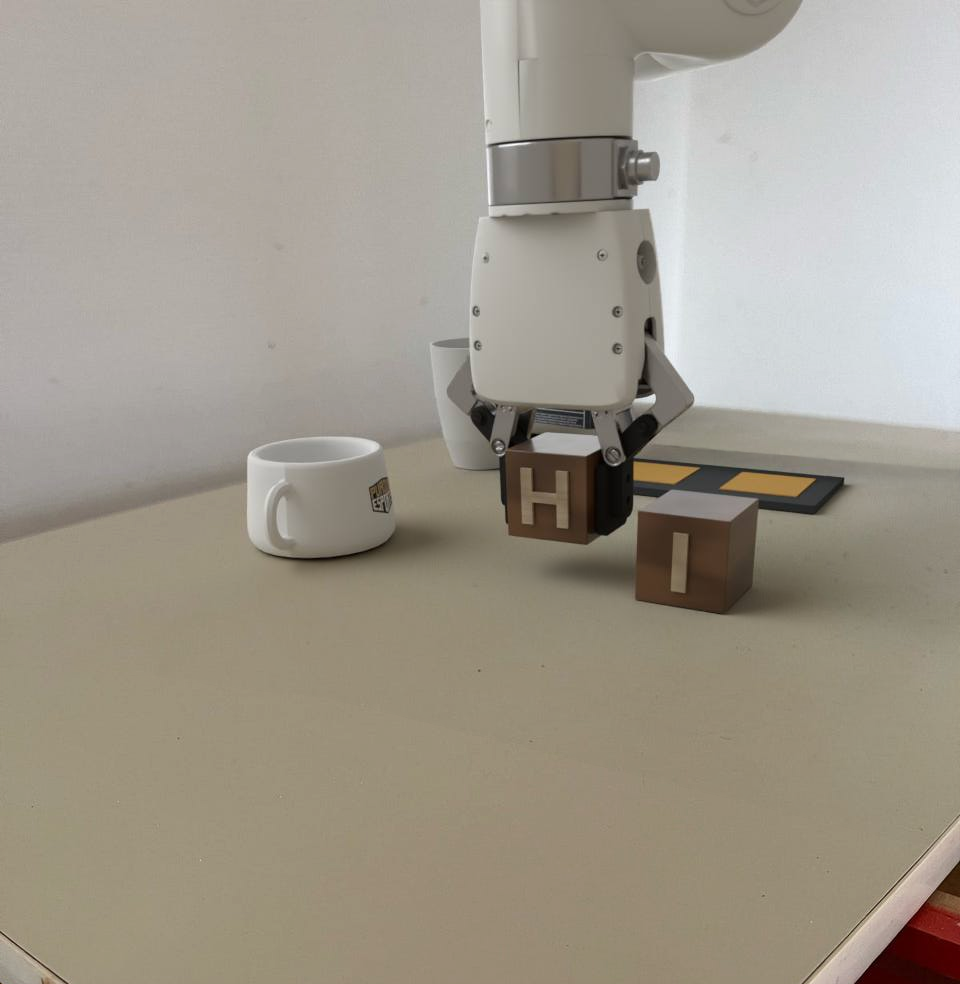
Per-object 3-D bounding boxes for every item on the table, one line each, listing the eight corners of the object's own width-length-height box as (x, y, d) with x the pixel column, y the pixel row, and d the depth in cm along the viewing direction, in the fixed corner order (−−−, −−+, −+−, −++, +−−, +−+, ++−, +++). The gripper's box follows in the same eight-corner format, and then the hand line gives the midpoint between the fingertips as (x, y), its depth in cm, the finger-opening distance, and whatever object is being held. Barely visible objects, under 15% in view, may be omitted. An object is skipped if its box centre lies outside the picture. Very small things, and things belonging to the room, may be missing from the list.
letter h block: (622, 521, 61) (623, 437, 59) (585, 546, 57) (584, 457, 55) (547, 513, 63) (545, 432, 61) (506, 536, 59) (502, 450, 57)
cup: (545, 467, 86) (544, 343, 82) (454, 478, 83) (449, 350, 79) (507, 449, 93) (505, 334, 89) (422, 459, 90) (416, 340, 86)
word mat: (843, 485, 78) (844, 475, 77) (814, 514, 70) (815, 504, 70) (622, 463, 86) (622, 455, 86) (576, 488, 79) (576, 479, 79)
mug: (291, 516, 74) (283, 432, 71) (417, 523, 71) (413, 436, 69) (201, 568, 63) (188, 471, 61) (345, 579, 60) (337, 479, 58)
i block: (752, 585, 58) (759, 498, 56) (722, 615, 53) (729, 522, 52) (667, 573, 60) (671, 489, 58) (633, 601, 56) (635, 511, 54)
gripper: (745, 173, 52) (729, 521, 59) (457, 191, 60) (473, 495, 67) (694, 173, 46) (683, 560, 53) (382, 193, 54) (409, 526, 61)
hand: (566, 520), depth 60 cm, fingers closed on letter h block, 5 cm apart
